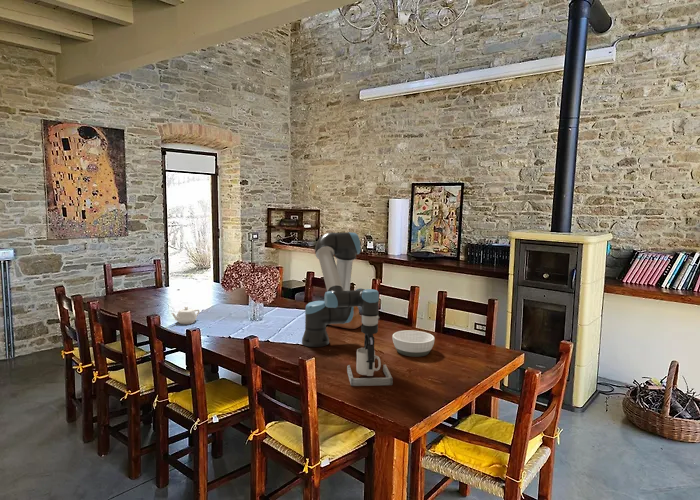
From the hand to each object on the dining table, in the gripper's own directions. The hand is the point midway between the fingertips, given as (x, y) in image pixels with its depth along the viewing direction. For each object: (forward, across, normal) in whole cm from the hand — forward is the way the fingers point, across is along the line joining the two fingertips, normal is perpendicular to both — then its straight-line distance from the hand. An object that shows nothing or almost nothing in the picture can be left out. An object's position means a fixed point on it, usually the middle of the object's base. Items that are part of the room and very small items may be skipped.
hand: (368, 371), depth 211 cm
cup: (0, -1, 0) cm, 1 cm away
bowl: (+3, +34, -29) cm, 45 cm away
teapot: (+3, +96, +105) cm, 142 cm away
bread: (+3, +87, +6) cm, 87 cm away
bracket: (+2, -2, 0) cm, 3 cm away
